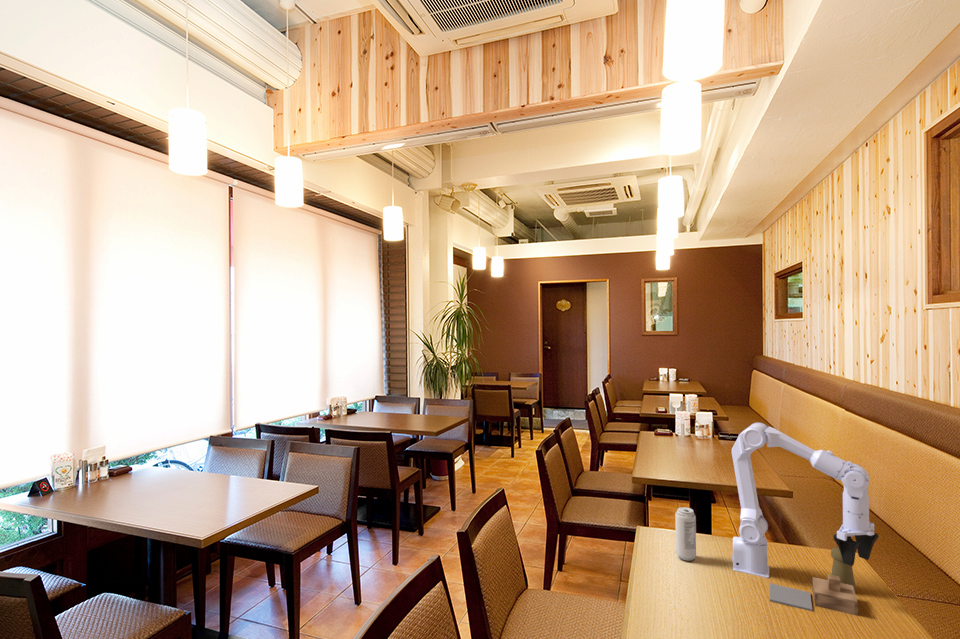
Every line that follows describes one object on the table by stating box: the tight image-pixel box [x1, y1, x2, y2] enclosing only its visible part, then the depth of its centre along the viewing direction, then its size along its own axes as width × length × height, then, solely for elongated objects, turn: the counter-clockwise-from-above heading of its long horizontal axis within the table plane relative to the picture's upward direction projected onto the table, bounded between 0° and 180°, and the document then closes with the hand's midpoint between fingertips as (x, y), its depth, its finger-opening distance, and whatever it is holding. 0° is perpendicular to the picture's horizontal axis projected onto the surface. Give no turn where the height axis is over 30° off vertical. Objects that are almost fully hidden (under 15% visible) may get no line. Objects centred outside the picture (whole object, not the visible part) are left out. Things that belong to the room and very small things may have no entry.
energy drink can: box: [674, 506, 697, 562], centre depth 158 cm, size 6×6×15 cm
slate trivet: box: [769, 582, 813, 612], centre depth 134 cm, size 10×10×1 cm
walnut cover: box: [812, 573, 859, 617], centre depth 131 cm, size 9×9×7 cm
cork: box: [830, 546, 857, 594], centre depth 138 cm, size 6×6×11 cm
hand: (856, 561), depth 134 cm, fingers open, 7 cm apart
